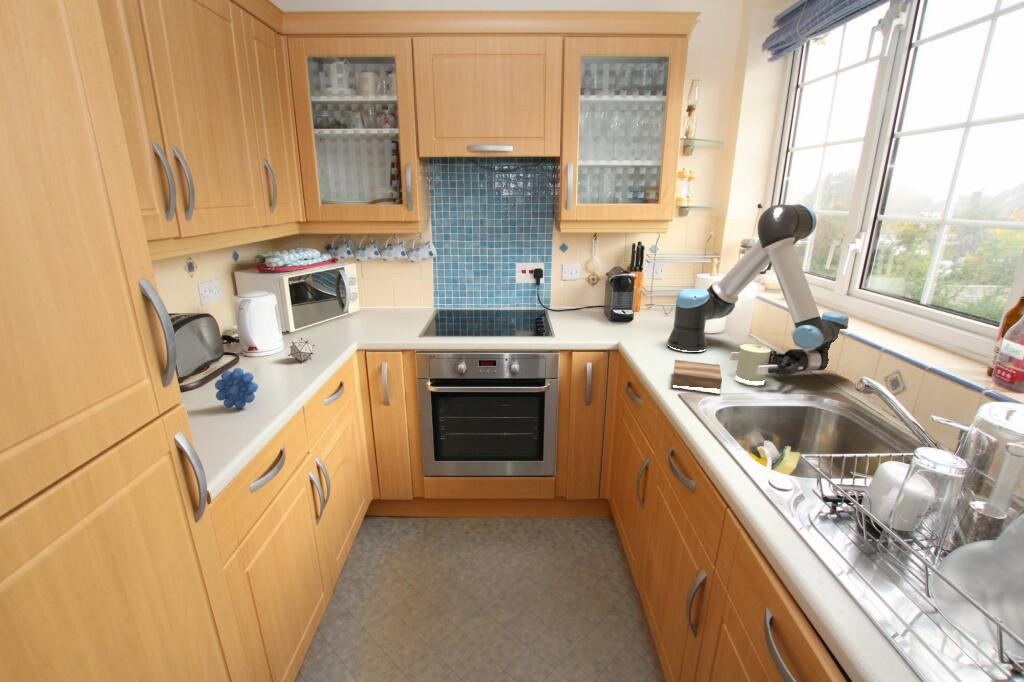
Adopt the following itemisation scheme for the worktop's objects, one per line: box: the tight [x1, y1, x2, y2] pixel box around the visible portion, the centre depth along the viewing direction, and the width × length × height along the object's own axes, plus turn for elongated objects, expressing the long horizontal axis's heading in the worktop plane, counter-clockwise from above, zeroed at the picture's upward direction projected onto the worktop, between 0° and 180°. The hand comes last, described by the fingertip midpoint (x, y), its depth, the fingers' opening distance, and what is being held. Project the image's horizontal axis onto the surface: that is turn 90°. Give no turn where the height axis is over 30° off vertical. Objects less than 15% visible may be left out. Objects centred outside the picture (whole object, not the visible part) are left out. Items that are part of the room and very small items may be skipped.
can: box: [735, 343, 772, 381], centre depth 154 cm, size 9×9×12 cm
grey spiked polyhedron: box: [287, 337, 315, 364], centre depth 168 cm, size 9×8×10 cm
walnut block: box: [671, 359, 723, 390], centre depth 152 cm, size 14×14×5 cm
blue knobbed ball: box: [214, 367, 259, 410], centre depth 129 cm, size 12×7×12 cm, turn 91°
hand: (743, 363), depth 153 cm, fingers open, 13 cm apart
